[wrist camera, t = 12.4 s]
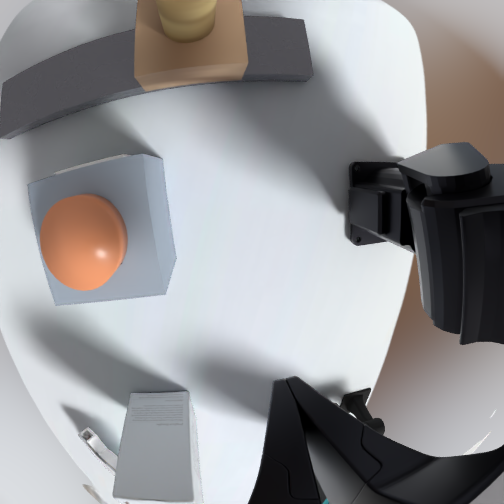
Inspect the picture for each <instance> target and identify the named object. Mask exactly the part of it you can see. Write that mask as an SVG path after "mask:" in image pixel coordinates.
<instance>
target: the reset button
mask: <svg viewBox="0 0 504 504" xmlns="http://www.w3.org/2000/svg"><path fill="white" fill-rule="evenodd" d="M127 245H128V235H127V229H126V225H125V222H124V220H123V218H122V216H121V214H120V212H119V211H118V209H117V208H116V207H115V206H114V205H113V204H112V203H111V202H110V201H108V200H107V199H106V198H104V197H102V196H99V195H96V194H80V195H76V196H72V197H67V198H65V199H62V200H60V201H58V202H57V203H55V204H54V205H53V206H52V207H51V208H50V209H49V211H48V212H47V214H46V215H45V217H44V220H43V222H42V226H41V230H40V247H41V252H42V256H43V259H44V261H45V263H46V265H47V267H48V269H49V270H50V272H51V273H52V274H53V275H54V277H55V278H56V279H58V280H59V281H60V282H61V283H62V284H64V285H66V286H67V287H70V288H72V289H75V290H81V291H88V290H93V289H96V288H98V287H100V286H102V285H103V284H104V283H106V282H107V281H108V280H109V279H110V277H111V276H112V275H113V274H114V272H115V271H116V270H117V269H118V268H119V266H120V265H121V263H122V262H123V260H124V257H125V255H126V251H127Z"/></svg>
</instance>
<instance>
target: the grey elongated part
mask: <svg viewBox="0 0 504 504" xmlns="http://www.w3.org/2000/svg"><path fill="white" fill-rule="evenodd" d="M78 436H79V437H80V439H81V440H82V441H83V442H84V443H85V445H86V446H87V447H88V448H89V449H90V451H91V453H92V454H93V455H94V456H95V457H96V458H97V459H98V460H99V461H100V462H101V463H102V465H103V466H104V467H106V468H107V469H108V470H109V471H110V472H111V473H112V474H113V475H114V476H115V473H116V466H117V460H118V456H117V455H115V454H114V453H113V452H112V451H110V450H109V449H108V448H107V447H106V446H105V445H104V443H103V442H102V441H101V440H100V438H99V437H98V436H97V435H96V434H95V433H94V432H93V431H92V430H91V429H90V428H89V427H87V428H86V429H85V430H83V431H82V432H81V433H80V434H78Z"/></svg>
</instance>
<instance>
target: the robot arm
mask: <svg viewBox="0 0 504 504" xmlns="http://www.w3.org/2000/svg"><path fill="white" fill-rule="evenodd" d="M355 166H357V168H358V169H357V171H355V169H354V168H355ZM349 176H350V189H349V221H350V223H351V242H352V243H353V244H355V245H356V246H360V245H367V244H373V243H380V242H387V241H389V242H391V243H393V244H395V245H397V246H400V247H402V248H404V249H406V250H408V251H410V252H413V253H415V254H416V256H417V263H418V271H419V280H420V290H421V301H422V304H423V308H424V311H425V312H426V313H427V314H428V315H429V317H430V318H431V319H432V320H433V324H434V326H436V327H438V328H440V329H441V330H443V331H447V332H450V333H454V334H460V344H462V345H465V344H469V343H474V342H495V343H500V344H504V164H489V162H488V160H487V159H486V158H485V157H484V156H483V155H482V154H481V153H480V152H479V151H477V150H476V149H475V148H474V147H473V146H472V145H471V144H470V143H468V142H462V143H449V144H441V145H438V146H436V147H433V148H431V149H429V150H426V151H424V152H421V153H419V154H416V155H414V156H411V157H409V158H407V159H404V160H402V161H399V162H397V163H391V162H352V163H351V164H350V166H349ZM358 236H359V240H358V241H356V238H357V237H358ZM314 473H315V474H314ZM315 475H316V477H317V479H318V481H319V483H320V485H321V487H322V489H323V491H324V493H325V495H326V497H327V499H328V501H329V503H330V504H504V445H503V446H501V447H499V448H498V449H495V450H493V451H489V452H484V453H477V454H470V455H462V456H453V457H434V456H429V455H426V454H423V453H421V452H418V451H416V450H413V449H411V448H409V447H406V446H404V445H402V444H400V443H397V442H395V441H393V440H391V439H389V438H387V437H385V436H383V435H382V434H380V433H378V432H376V431H375V430H373V429H372V428H370V427H369V426H367V425H364V423H362V422H361V421H359V420H358V419H356V418H355V417H353V416H352V415H350V414H349V413H347V412H346V411H344V410H343V409H342V408H340V407H339V406H337V405H336V404H334V403H333V402H332V401H330V400H329V399H327V398H326V397H325V396H323V395H322V394H320V393H319V392H318V391H316V390H315V389H313V388H312V387H311V386H309V385H308V384H307V383H305V382H304V381H303V380H301V379H300V378H299V377H297V376H293V377H289V378H286V379H280V380H275V381H273V386H272V394H271V401H270V408H269V415H268V421H267V428H266V435H265V441H264V447H263V454H262V459H261V464H260V469H259V473H258V477H257V480H256V483H255V486H254V489H253V492H252V494H251V497H250V500H249V502H248V504H322V503H321V500H320V499H321V498H320V494H319V490H318V486H317V482H316V478H315Z"/></svg>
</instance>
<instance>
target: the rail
mask: <svg viewBox="0 0 504 504" xmlns="http://www.w3.org/2000/svg"><path fill="white" fill-rule="evenodd" d="M243 19H244V27H245V36H246V45H247V54H248V65H247V67H246V70H245V72H244V74H243V77H242V79H241V80H230V81H217V82H206V83H197V84H189V85H181V86H175V87H168V88H162V89H157V90H151V91H146V92H145V90H144V89H143V88H142V86H141V85H140V84H139V82H138V81H137V80H136V78H135V77H134V54H135V29H133V30H129V31H125V32H122V33H118V34H114V35H111V36H107V37H104V38H101V39H98V40H95V41H92V42H89V43H86V44H83V45H81V46H78V47H75V48H73V49H70V50H68V51H65V52H63V53H60V54H58V55H56V56H53V57H51V58H49V59H47V60H45V61H43V62H41V63H39V64H37V65H35V66H33V67H31V68H29V69H27V70H25V71H23V72H21V73H19V74H18V75H16V76H14V77H12V78H11V79H9V80H7V81H6V82H4V83H3V88H2V97H1V108H0V139H11V138H13V137H15V136H17V135H19V134H21V133H24V132H26V131H28V130H30V129H33V128H35V127H37V126H40V125H42V124H44V123H47V122H49V121H52V120H54V119H57V118H60V117H63V116H65V115H68V114H71V113H74V112H77V111H80V110H83V109H86V108H89V107H93V106H96V105H99V104H103V103H106V102H110V101H114V100H118V99H122V98H126V97H130V96H135V95H139V94H144V93H149V92H154V91H160V90H166V89H172V88H178V87H185V86H193V85H202V84H211V83H223V82H240V81H302V82H306V81H308V80H309V79H310V78H311V77H313V69H312V63H311V57H310V51H309V45H308V39H307V34H306V29H305V24H304V20H302V19H292V18H280V17H259V16H243Z"/></svg>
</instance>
